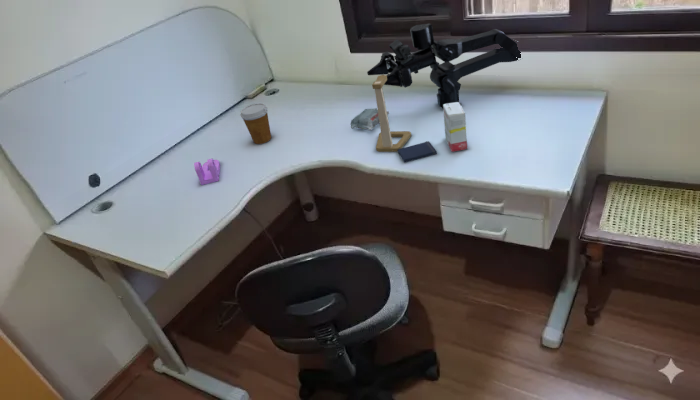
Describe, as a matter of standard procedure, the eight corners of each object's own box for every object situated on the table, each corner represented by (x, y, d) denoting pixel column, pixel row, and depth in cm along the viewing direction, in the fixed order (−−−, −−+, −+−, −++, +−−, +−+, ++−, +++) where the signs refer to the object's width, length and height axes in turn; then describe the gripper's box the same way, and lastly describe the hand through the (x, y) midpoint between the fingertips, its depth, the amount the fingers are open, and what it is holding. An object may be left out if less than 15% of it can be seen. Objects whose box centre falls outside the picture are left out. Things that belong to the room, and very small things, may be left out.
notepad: (429, 143, 158) (428, 140, 157) (437, 154, 152) (436, 151, 151) (397, 152, 157) (397, 149, 156) (404, 163, 151) (404, 159, 150)
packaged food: (390, 119, 177) (387, 105, 174) (371, 135, 169) (368, 121, 167) (368, 116, 182) (366, 104, 179) (350, 132, 174) (347, 119, 172)
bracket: (218, 180, 163) (211, 161, 159) (201, 185, 163) (193, 166, 159) (220, 161, 174) (213, 143, 170) (204, 165, 174) (197, 147, 170)
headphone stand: (412, 134, 164) (403, 68, 152) (404, 152, 156) (394, 83, 144) (380, 135, 168) (369, 70, 156) (371, 152, 160) (358, 85, 148)
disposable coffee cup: (281, 136, 182) (272, 104, 175) (260, 148, 176) (250, 116, 170) (264, 131, 188) (255, 100, 181) (244, 143, 182) (233, 112, 176)
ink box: (468, 149, 150) (465, 112, 144) (451, 152, 151) (448, 115, 144) (461, 136, 158) (458, 100, 151) (445, 139, 158) (442, 103, 151)
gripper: (401, 29, 169) (357, 46, 168) (423, 44, 154) (375, 62, 153) (408, 61, 175) (365, 77, 174) (430, 79, 160) (383, 96, 159)
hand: (371, 78), depth 165 cm, fingers open, 9 cm apart
